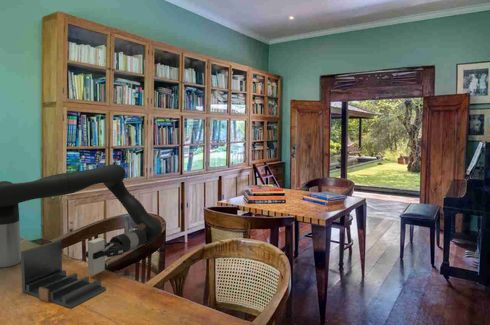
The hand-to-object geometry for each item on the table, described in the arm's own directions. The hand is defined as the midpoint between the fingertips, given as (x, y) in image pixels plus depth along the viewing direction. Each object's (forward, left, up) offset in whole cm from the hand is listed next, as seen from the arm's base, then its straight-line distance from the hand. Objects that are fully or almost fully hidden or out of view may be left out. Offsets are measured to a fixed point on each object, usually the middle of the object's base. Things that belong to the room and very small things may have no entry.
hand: (90, 255), depth 129 cm
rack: (0, -11, -9) cm, 14 cm away
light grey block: (0, +3, -7) cm, 8 cm away
